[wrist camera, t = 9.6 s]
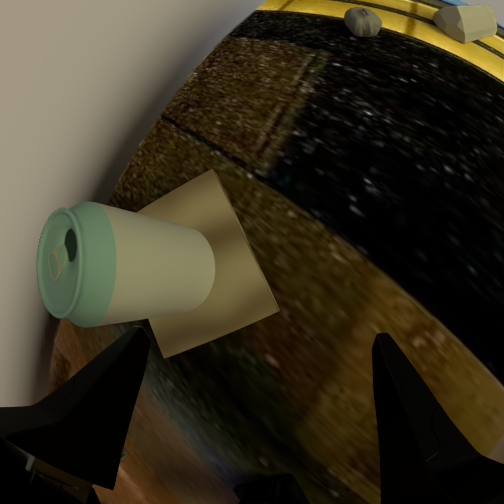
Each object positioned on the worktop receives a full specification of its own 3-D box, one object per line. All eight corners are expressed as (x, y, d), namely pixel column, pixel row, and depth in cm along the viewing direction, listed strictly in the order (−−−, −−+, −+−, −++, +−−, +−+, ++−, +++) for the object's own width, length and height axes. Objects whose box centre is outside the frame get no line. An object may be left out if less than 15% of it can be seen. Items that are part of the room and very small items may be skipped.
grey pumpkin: (378, 47, 26) (382, 20, 21) (340, 37, 27) (341, 10, 22) (380, 29, 27) (384, 4, 22) (346, 20, 28) (347, -5, 23)
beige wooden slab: (280, 310, 24) (278, 311, 21) (176, 354, 25) (163, 358, 22) (220, 179, 27) (212, 168, 24) (132, 229, 28) (119, 223, 26)
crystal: (469, 0, 21) (421, 2, 22) (495, 6, 16) (455, 6, 17) (475, 27, 26) (431, 38, 28) (500, 34, 21) (463, 45, 23)
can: (164, 218, 24) (46, 188, 12) (230, 239, 21) (101, 208, 10) (145, 292, 24) (28, 296, 13) (205, 324, 21) (77, 357, 10)
